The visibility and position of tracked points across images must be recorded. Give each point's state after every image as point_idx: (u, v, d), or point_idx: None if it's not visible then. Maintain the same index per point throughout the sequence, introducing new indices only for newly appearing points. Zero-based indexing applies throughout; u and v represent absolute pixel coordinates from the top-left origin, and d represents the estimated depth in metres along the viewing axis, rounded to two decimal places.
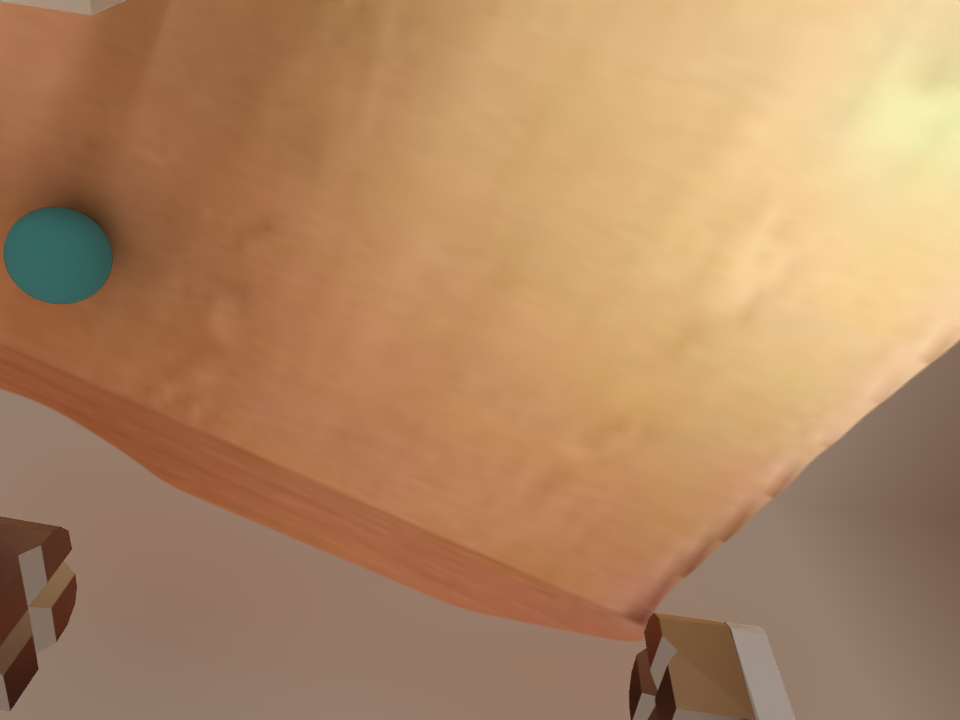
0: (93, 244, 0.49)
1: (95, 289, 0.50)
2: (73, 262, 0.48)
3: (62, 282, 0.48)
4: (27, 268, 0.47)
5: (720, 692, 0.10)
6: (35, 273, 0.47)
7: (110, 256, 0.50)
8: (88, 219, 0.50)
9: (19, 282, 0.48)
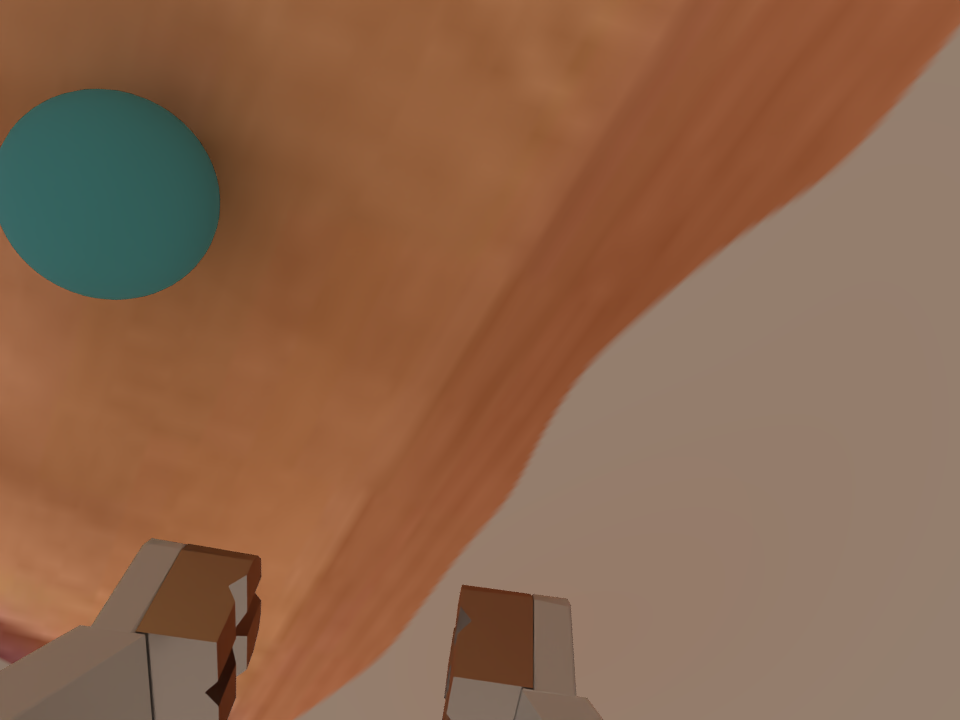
0: (43, 103, 0.22)
1: (147, 128, 0.22)
2: (36, 140, 0.21)
3: (69, 172, 0.20)
4: (41, 239, 0.21)
5: (503, 661, 0.10)
6: (46, 224, 0.21)
7: None
8: None
9: (92, 269, 0.22)
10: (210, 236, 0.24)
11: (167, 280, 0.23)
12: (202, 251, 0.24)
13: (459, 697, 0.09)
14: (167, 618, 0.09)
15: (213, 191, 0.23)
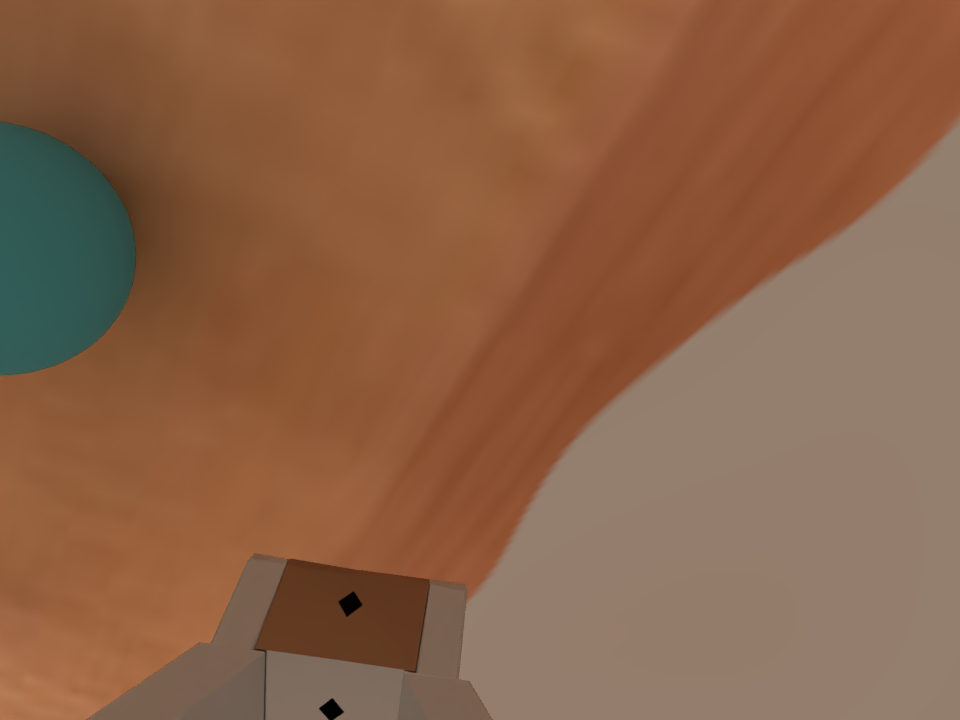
0: None
1: (32, 170, 0.17)
2: None
3: None
4: None
5: (389, 644, 0.10)
6: None
7: None
8: None
9: None
10: (121, 296, 0.20)
11: (67, 352, 0.19)
12: (112, 315, 0.20)
13: (343, 680, 0.09)
14: (283, 635, 0.09)
15: (123, 243, 0.19)
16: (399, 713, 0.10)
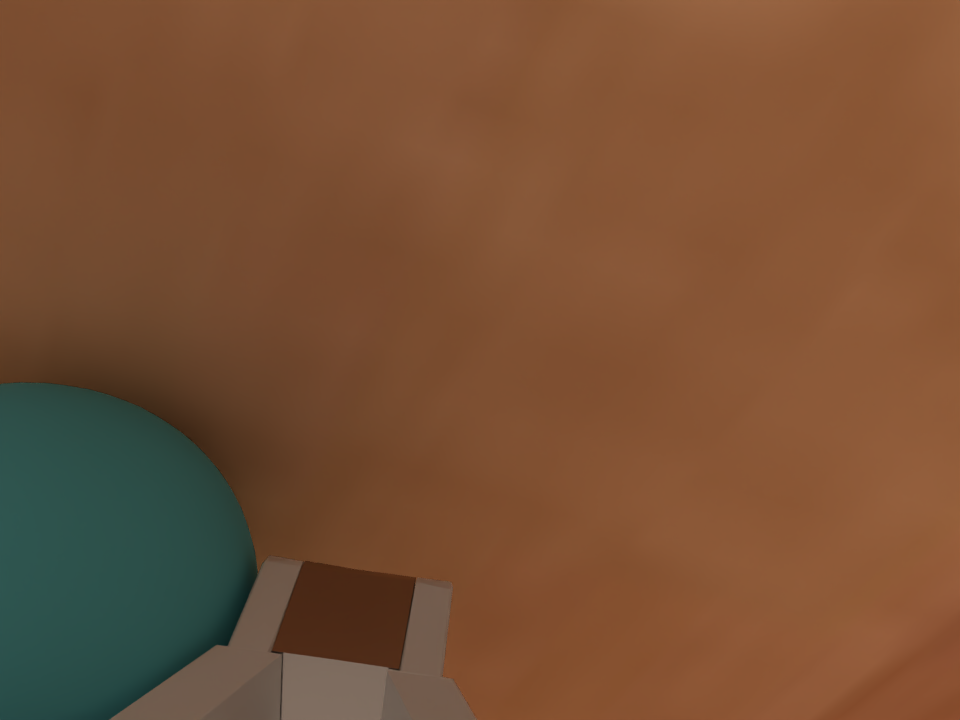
0: None
1: (34, 568, 0.08)
2: None
3: None
4: None
5: (373, 642, 0.10)
6: None
7: (33, 404, 0.10)
8: None
9: None
10: None
11: None
12: None
13: (327, 678, 0.09)
14: (299, 637, 0.09)
15: None
16: (382, 712, 0.10)
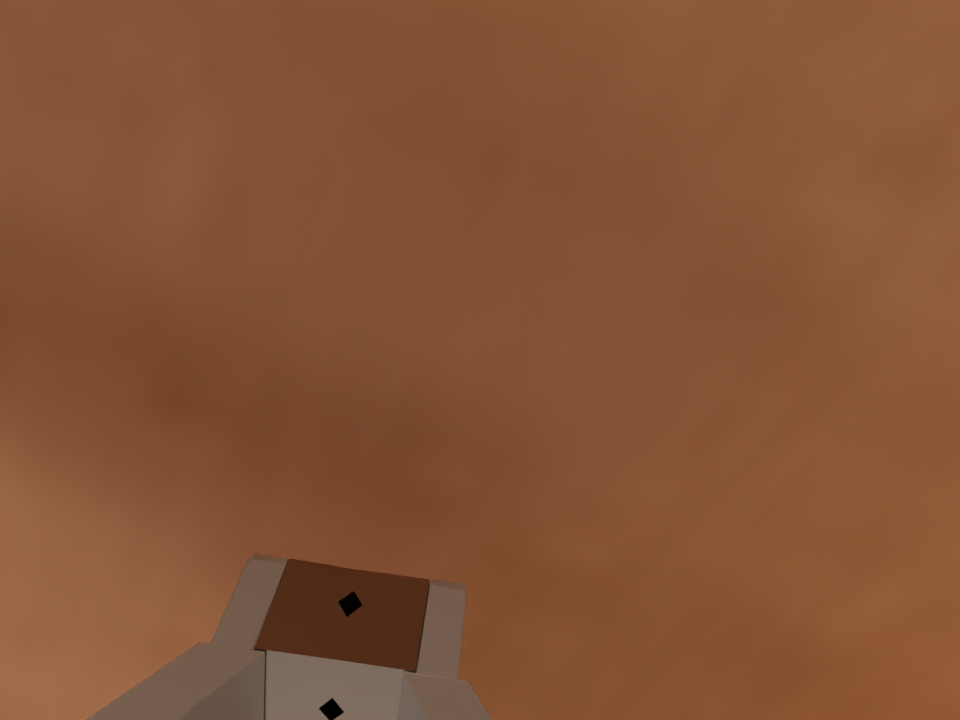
0: None
1: None
2: None
3: None
4: None
5: (389, 644, 0.10)
6: None
7: None
8: None
9: None
10: None
11: None
12: None
13: (343, 680, 0.09)
14: (283, 635, 0.09)
15: None
16: (399, 713, 0.10)
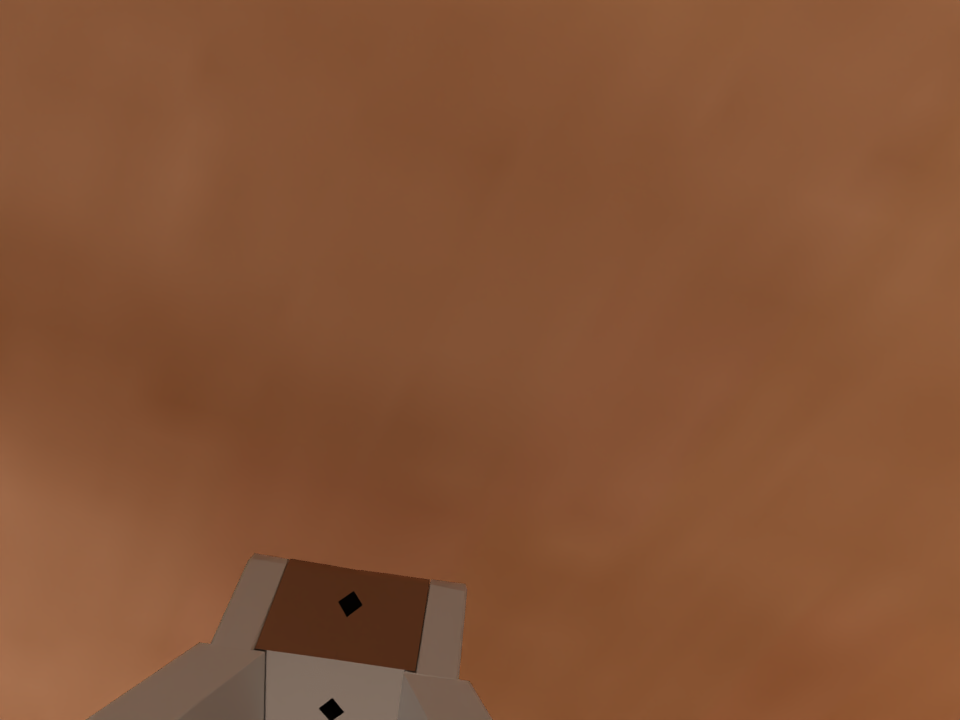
0: None
1: None
2: None
3: None
4: None
5: (389, 644, 0.10)
6: None
7: None
8: None
9: None
10: None
11: None
12: None
13: (343, 680, 0.09)
14: (283, 635, 0.09)
15: None
16: (399, 713, 0.10)
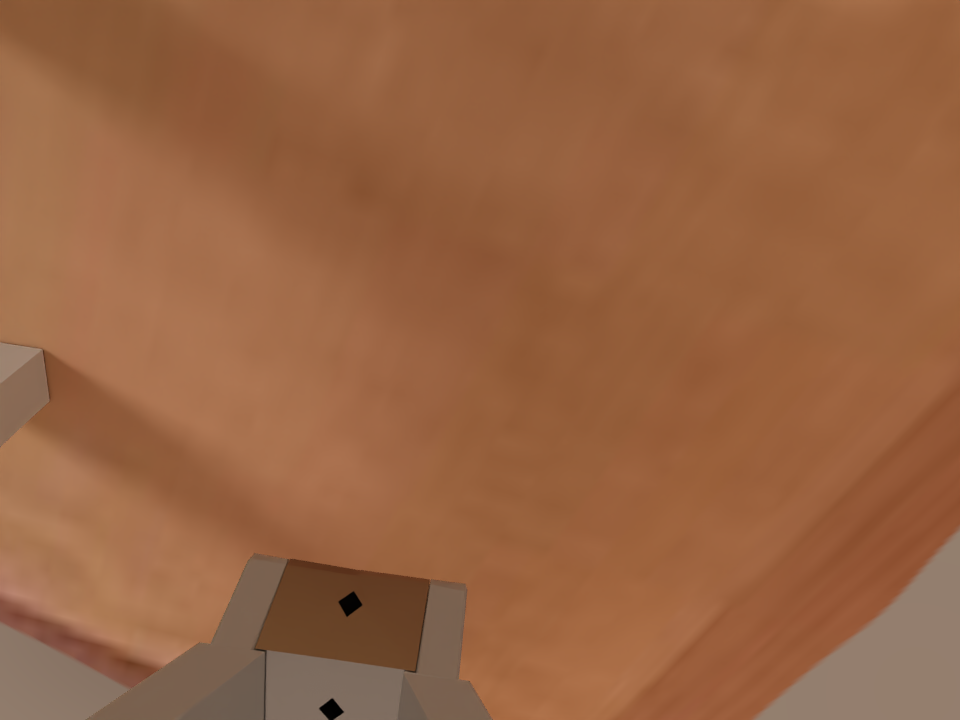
0: None
1: None
2: None
3: None
4: None
5: (389, 645, 0.10)
6: None
7: None
8: None
9: None
10: None
11: None
12: None
13: (343, 681, 0.09)
14: (283, 635, 0.09)
15: None
16: (398, 714, 0.10)
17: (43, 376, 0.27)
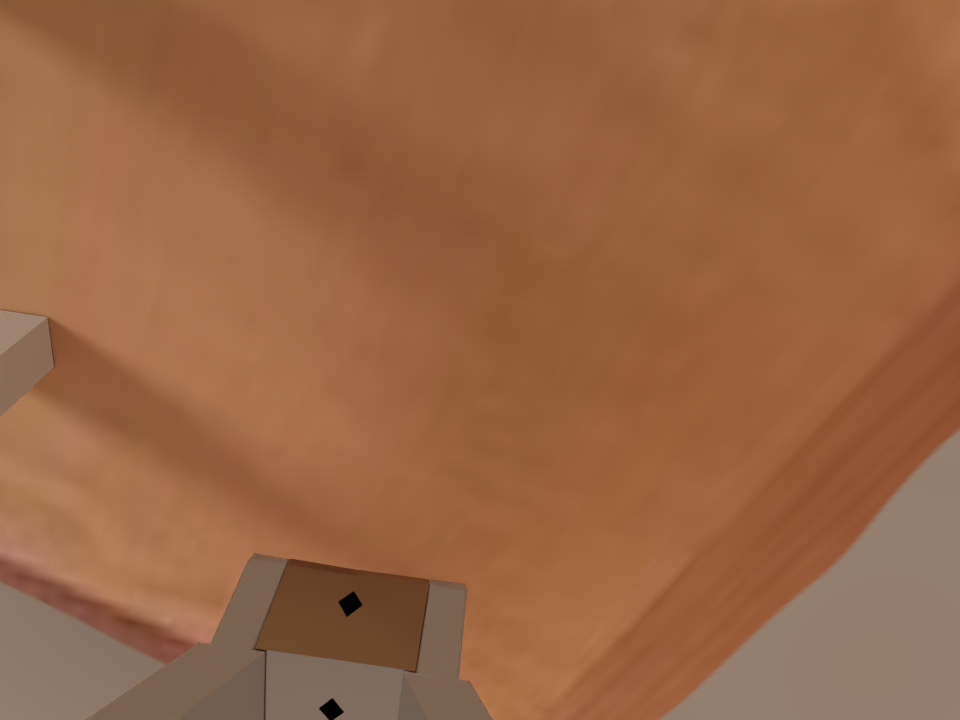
0: None
1: None
2: None
3: None
4: None
5: (389, 644, 0.10)
6: None
7: None
8: None
9: None
10: None
11: None
12: None
13: (343, 680, 0.09)
14: (283, 635, 0.09)
15: None
16: (399, 714, 0.10)
17: (48, 343, 0.28)
